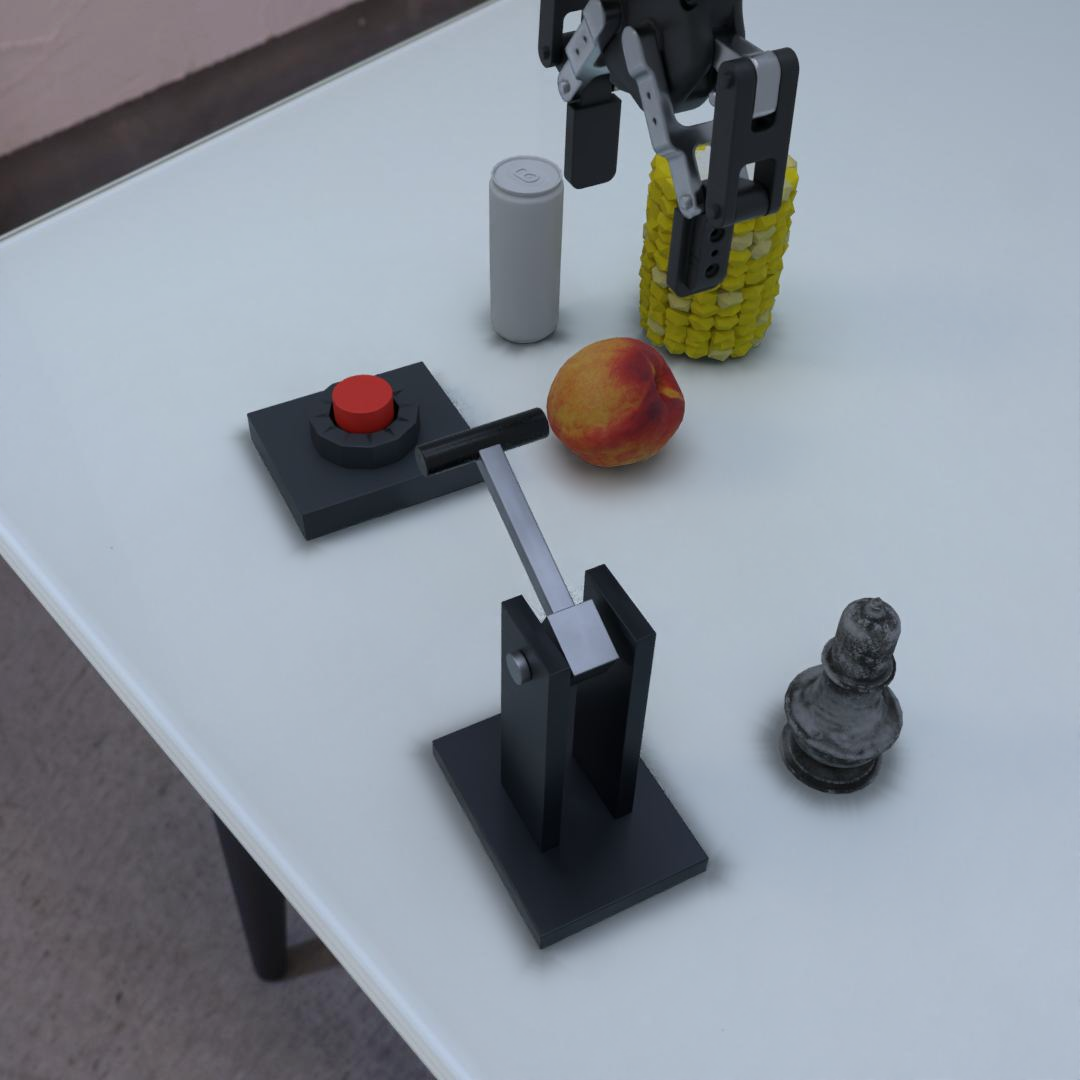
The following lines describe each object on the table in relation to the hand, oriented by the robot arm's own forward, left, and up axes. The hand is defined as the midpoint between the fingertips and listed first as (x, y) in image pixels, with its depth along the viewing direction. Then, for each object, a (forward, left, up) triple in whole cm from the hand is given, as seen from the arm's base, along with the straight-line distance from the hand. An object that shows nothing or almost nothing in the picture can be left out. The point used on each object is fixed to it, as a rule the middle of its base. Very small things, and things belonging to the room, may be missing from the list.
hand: (639, 232), depth 54 cm
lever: (-7, -4, -12) cm, 15 cm away
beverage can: (+9, +27, -26) cm, 39 cm away
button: (-6, +19, -22) cm, 30 cm away
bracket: (-7, -9, -26) cm, 28 cm away
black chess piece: (+7, -12, -26) cm, 30 cm away
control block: (-6, +19, -26) cm, 33 cm away
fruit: (+8, +13, -26) cm, 30 cm away
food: (+20, +21, -26) cm, 39 cm away
